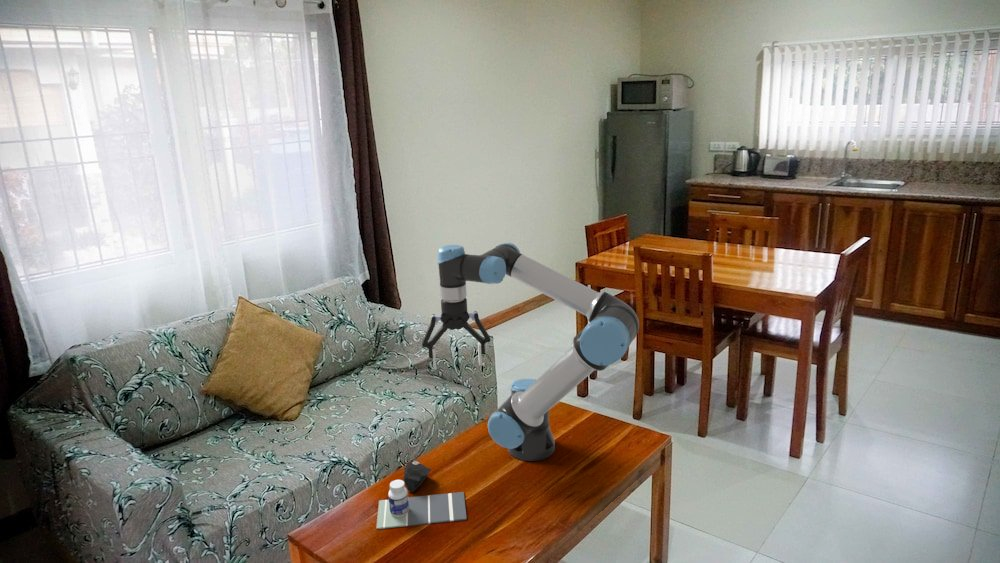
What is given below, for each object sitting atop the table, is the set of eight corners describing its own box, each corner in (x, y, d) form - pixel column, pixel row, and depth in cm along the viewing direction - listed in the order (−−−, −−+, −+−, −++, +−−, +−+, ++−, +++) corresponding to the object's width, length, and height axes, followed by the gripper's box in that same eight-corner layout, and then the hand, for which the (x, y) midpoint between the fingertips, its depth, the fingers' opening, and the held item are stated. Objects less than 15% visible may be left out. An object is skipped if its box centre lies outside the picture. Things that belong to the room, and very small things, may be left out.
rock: (390, 484, 189) (389, 468, 187) (410, 470, 196) (409, 453, 194) (417, 496, 183) (415, 479, 182) (436, 480, 190) (435, 464, 188)
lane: (463, 493, 184) (463, 491, 184) (466, 519, 172) (466, 518, 172) (379, 501, 181) (379, 500, 181) (376, 529, 170) (376, 528, 170)
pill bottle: (388, 508, 177) (385, 480, 175) (407, 503, 179) (404, 476, 177) (392, 519, 173) (389, 491, 170) (411, 514, 174) (408, 486, 172)
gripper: (494, 291, 190) (497, 357, 197) (410, 297, 188) (415, 363, 194) (497, 299, 183) (500, 367, 189) (410, 305, 181) (415, 374, 187)
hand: (457, 365), depth 192 cm, fingers open, 13 cm apart
